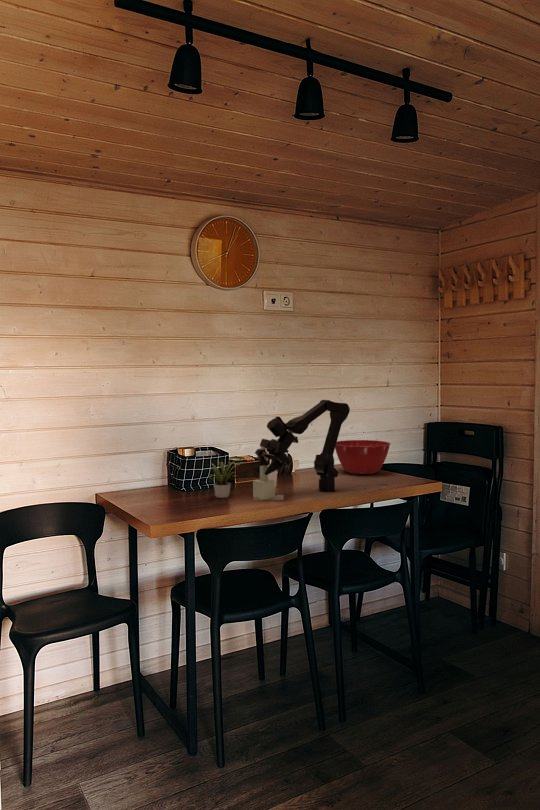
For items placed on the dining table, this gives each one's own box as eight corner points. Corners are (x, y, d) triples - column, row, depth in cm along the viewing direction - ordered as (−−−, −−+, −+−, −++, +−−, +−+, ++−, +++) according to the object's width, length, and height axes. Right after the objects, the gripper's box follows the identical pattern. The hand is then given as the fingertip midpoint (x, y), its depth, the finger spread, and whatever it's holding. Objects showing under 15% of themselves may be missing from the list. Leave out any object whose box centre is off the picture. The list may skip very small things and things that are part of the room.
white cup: (275, 489, 281) (275, 466, 281) (258, 488, 283) (258, 466, 282) (278, 485, 289) (278, 463, 288) (261, 485, 291) (261, 463, 290)
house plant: (246, 495, 268) (246, 457, 267) (238, 502, 254) (237, 462, 253) (213, 494, 271) (213, 456, 270) (204, 501, 257) (203, 461, 256)
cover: (266, 495, 264) (265, 464, 263) (274, 497, 258) (274, 466, 257) (253, 497, 260) (252, 465, 259) (262, 499, 255) (261, 467, 254)
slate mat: (283, 497, 264) (283, 495, 264) (283, 502, 255) (283, 499, 255) (254, 497, 264) (254, 495, 264) (253, 502, 255) (253, 499, 255)
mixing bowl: (328, 468, 334) (328, 439, 333) (381, 467, 337) (381, 438, 336) (340, 478, 306) (340, 446, 305) (397, 477, 309) (397, 445, 308)
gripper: (258, 429, 267) (236, 458, 262) (284, 433, 252) (262, 463, 246) (273, 446, 272) (252, 475, 267) (300, 451, 257) (278, 481, 251)
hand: (260, 473), depth 258 cm, fingers open, 6 cm apart
